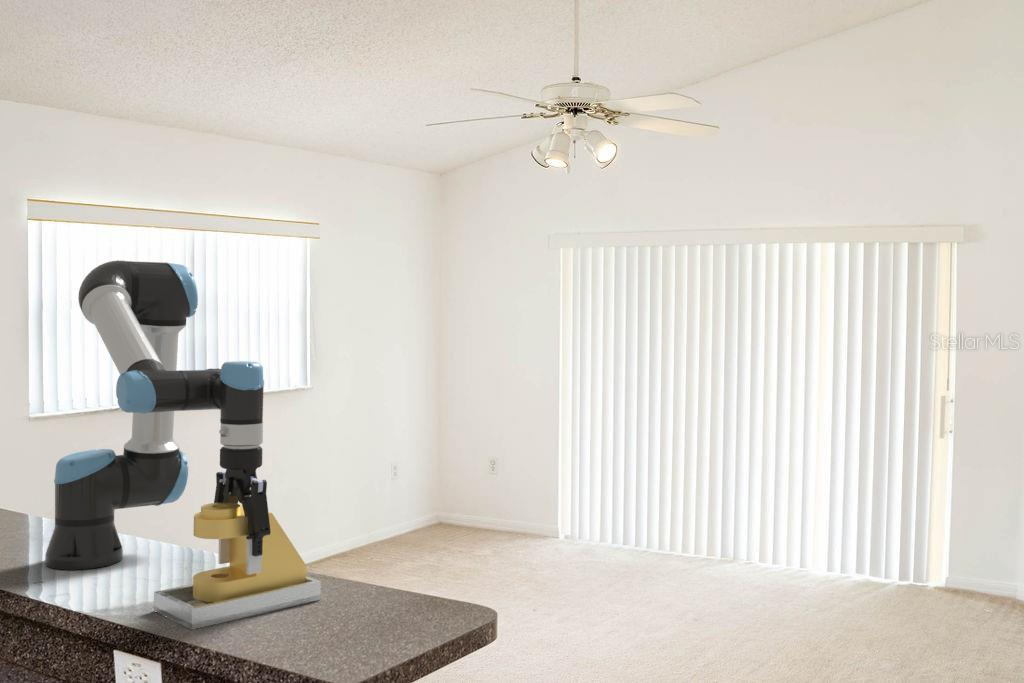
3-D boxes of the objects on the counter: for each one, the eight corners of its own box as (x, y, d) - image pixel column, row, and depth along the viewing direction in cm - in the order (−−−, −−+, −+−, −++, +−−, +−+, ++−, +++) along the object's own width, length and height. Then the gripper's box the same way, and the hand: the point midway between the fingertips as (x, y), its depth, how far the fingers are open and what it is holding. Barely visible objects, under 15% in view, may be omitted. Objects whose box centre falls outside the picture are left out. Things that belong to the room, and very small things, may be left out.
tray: (153, 611, 172) (154, 591, 172) (280, 584, 191) (280, 566, 191) (191, 629, 162) (192, 609, 162) (320, 599, 181) (321, 581, 181)
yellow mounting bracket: (209, 604, 167) (210, 513, 167) (183, 593, 173) (184, 505, 173) (306, 583, 182) (307, 499, 181) (278, 573, 188) (279, 492, 187)
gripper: (193, 441, 181) (191, 559, 181) (254, 454, 165) (253, 583, 166) (229, 438, 186) (227, 553, 187) (292, 450, 171) (290, 576, 171)
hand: (239, 567), depth 176 cm, fingers closed on yellow mounting bracket, 9 cm apart
